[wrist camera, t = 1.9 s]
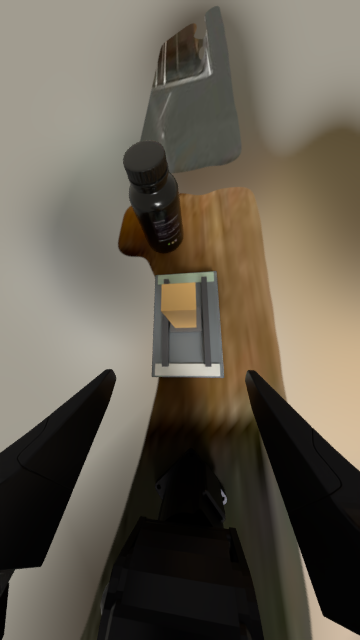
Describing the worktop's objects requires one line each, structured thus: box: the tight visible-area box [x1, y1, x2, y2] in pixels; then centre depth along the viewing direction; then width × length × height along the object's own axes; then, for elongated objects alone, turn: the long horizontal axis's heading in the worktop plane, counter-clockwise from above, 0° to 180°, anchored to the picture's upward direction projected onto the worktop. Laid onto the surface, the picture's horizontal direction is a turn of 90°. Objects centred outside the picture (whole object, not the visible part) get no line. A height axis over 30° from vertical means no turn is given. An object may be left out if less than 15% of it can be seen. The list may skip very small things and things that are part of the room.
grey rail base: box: [152, 271, 224, 378], centre depth 22 cm, size 16×10×3 cm, turn 1°
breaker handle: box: [161, 282, 201, 333], centre depth 17 cm, size 4×4×9 cm
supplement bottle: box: [123, 140, 183, 253], centre depth 21 cm, size 7×7×12 cm
